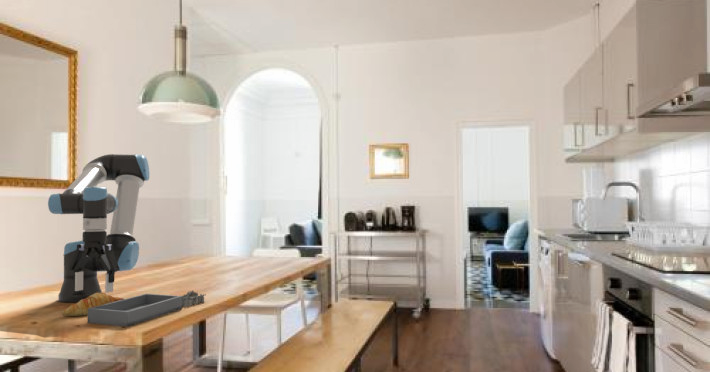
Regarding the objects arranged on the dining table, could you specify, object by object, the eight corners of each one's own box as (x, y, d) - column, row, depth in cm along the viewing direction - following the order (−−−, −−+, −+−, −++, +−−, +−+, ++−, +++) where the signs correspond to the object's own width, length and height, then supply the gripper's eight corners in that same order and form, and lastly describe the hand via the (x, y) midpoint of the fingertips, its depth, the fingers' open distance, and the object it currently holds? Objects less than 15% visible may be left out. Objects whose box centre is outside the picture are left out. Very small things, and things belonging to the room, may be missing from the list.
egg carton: (193, 300, 193) (193, 289, 193) (208, 302, 189) (208, 291, 189) (172, 305, 183) (172, 294, 183) (186, 307, 180) (186, 296, 180)
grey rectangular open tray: (87, 322, 157) (87, 308, 157) (146, 305, 182) (146, 293, 182) (127, 326, 152) (127, 312, 152) (182, 308, 177) (182, 296, 177)
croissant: (67, 329, 162) (72, 309, 160) (53, 312, 167) (59, 292, 165) (127, 315, 180) (133, 297, 178) (114, 299, 185) (119, 282, 183)
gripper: (58, 231, 174) (57, 291, 173) (114, 231, 166) (113, 294, 165) (76, 230, 181) (75, 288, 180) (131, 230, 173) (130, 291, 172)
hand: (93, 291), depth 173 cm, fingers open, 13 cm apart
